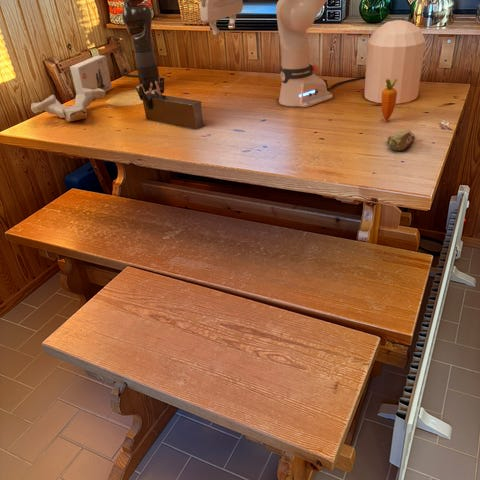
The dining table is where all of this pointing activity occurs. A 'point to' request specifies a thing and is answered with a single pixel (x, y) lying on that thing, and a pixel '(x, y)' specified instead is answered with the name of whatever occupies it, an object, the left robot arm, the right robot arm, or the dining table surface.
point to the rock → (400, 140)
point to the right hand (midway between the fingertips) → (224, 31)
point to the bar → (175, 111)
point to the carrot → (388, 99)
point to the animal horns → (72, 111)
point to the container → (394, 61)
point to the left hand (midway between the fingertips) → (154, 107)
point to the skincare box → (91, 74)
